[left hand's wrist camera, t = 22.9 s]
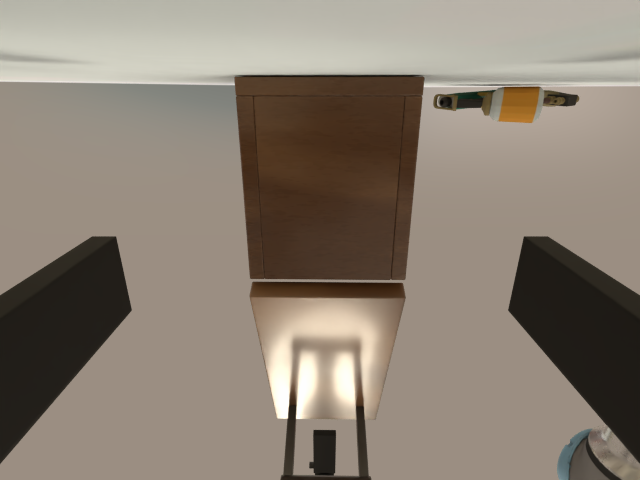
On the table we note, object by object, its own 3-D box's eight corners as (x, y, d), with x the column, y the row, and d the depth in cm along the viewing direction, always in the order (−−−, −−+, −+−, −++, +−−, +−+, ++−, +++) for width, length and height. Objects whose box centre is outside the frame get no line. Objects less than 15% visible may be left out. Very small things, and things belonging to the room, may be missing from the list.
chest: (378, 82, 35) (372, 199, 39) (278, 82, 35) (282, 199, 39) (424, 76, 18) (405, 280, 22) (234, 76, 18) (249, 279, 22)
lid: (374, 407, 36) (383, 510, 30) (277, 406, 36) (268, 508, 30) (403, 282, 23) (428, 420, 17) (251, 281, 23) (226, 417, 17)
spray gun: (587, 81, 52) (480, 79, 62) (551, 89, 41) (428, 85, 51) (579, 113, 54) (476, 107, 63) (542, 129, 43) (425, 118, 53)
